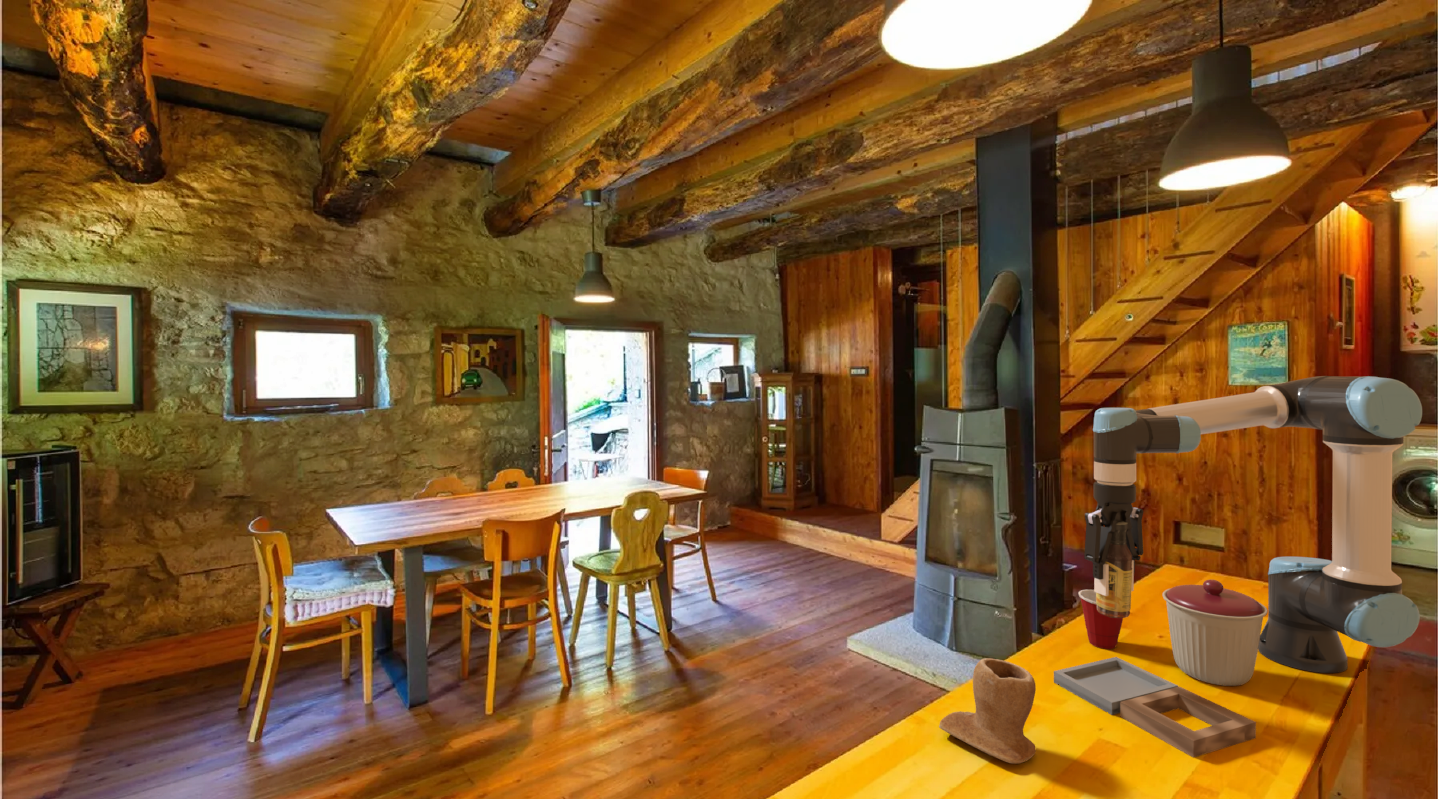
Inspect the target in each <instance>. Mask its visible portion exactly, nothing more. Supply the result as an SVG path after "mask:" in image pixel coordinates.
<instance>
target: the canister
mask: <svg viewBox="0 0 1438 799" xmlns="http://www.w3.org/2000/svg"><path fill="white" fill-rule="evenodd" d="M1162 597H1163V600H1164V601H1166V609H1167V610H1166V611H1167V619H1168V625H1169V627H1168V628H1169V634H1170V635H1169V636H1170V642H1171V648H1172V654H1173V660H1174V661H1175V664H1176V666H1178V668H1179V669H1180V670H1181V671H1182V672H1183V673H1184V674H1186V675H1188V676H1189V677H1192V678H1193V679H1196V680H1199V681H1202V682H1205V683H1208V684H1209V683H1210V684H1212V685H1217V686H1227V687H1230V686H1232V687H1235V686H1236V687H1237V686H1242V685H1244V684H1247V683H1248V682H1249V681H1250V680H1251V678H1252V677H1253V675H1254V672H1255V667H1256V662H1257V657H1258V652H1259V650H1258V646H1259V640H1260V635H1261V633H1262V626H1263V619H1264V617H1266V616H1267V614H1268V609H1267V607H1266V606H1265V605H1264V604H1262V603H1261V602H1259V601H1257V600H1256V599H1255V598H1253V597H1251V596H1249V595H1247V594H1244V593H1242V592H1238V591H1235V590H1232V589H1228V588H1224V585H1223V584H1222V583H1221V581H1219V580H1216V579H1207V580H1204V582H1203V583H1202V584H1181V585H1176V586H1173V587H1171V588H1167V589H1165V590H1164V591H1163V592H1162Z"/></svg>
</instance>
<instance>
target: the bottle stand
mask: <svg viewBox="0 0 1438 799" xmlns="http://www.w3.org/2000/svg"><path fill="white" fill-rule="evenodd" d="M1175 710H1181V711H1182V712H1184V713H1186V714H1188V715H1190V716H1192V717H1194V718H1196V719H1199V720H1200V721H1203V722H1205V723H1207V724H1209V725H1211V726H1207V727H1204V728H1200V729H1197V730H1193V729H1190V728H1189V727H1187V726H1185V725H1183V724H1181V723H1179V722H1178V721H1175V720H1174V719H1172V718H1170V717H1168V716H1166V715H1164V713H1166V712H1170V711H1175ZM1119 715H1120V716H1119V717H1120V718H1122V719H1124V720H1125V721H1128V722H1129V723H1131V724H1133V725H1134V726H1136V727H1138V728H1140V729H1142V730H1143V731H1145V732H1147V733H1149V734H1151V735H1152V736H1154V737H1156V738H1158V739H1159V740H1161V741H1163V742H1164V743H1167V744H1168V745H1170V746H1172V747H1174V748H1176V749H1177V750H1179V751H1180V752H1183V753H1184V754H1187V755H1188V756H1189V757H1192V758H1197V757H1199V756H1202V755H1206V754H1208V753H1212V752H1215V751H1219V750H1221V749H1226V748H1228V747H1231V746H1234V745H1235V746H1236V745H1238V744H1240V743H1241V744H1242V743H1245V742H1248V741H1250V740H1255V739H1256V737H1257V734H1256V733H1257V722H1256V721H1255V720H1253V719H1250V718H1248V717H1247V716H1244V715H1242V714H1239V713H1238V712H1235V711H1233V710H1231V709H1230V708H1228V707H1224V706H1222V705H1221V704H1218V703H1215V702H1214V701H1211V700H1209V699H1207V698H1205V697H1203V696H1201V695H1198V694H1197V693H1194V692H1193V691H1189V690H1187V689H1185V687H1184V688H1183V687H1181V686H1178V687H1175V688H1171V689H1167V690H1164V691H1160V692H1156V693H1152V694H1148V695H1144V696H1141V697H1137V698H1133V699H1129V700H1125V701H1121V702H1120V713H1119Z"/></svg>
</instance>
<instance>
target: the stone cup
mask: <svg viewBox="0 0 1438 799" xmlns="http://www.w3.org/2000/svg"><path fill="white" fill-rule="evenodd" d="M972 674H973V677H972V691H973V697H974V698H973V699H974V702H975V712H971V711H955V712H954V711H953V712H951V713H948V714H947V715H945V716H944V717H943V718H942V719H941V720H940V721H939V725H938V727H939V729H941V730H942V731H944V732H945V733H946V734H949V735H950V736H952V737H954V738H957V739H959V740H960V741H962V742H964V743H966V744H967V745H969V746H971V747H973V748H975V749H977V750H979V751H981V752H983V753H985V754H986V755H989V756H991V757H994V758H996V759H997V760H998V759H999V760H1001V761H1003V762H1006V763H1009V764H1021V763H1024V762H1025V763H1026V762H1027V761H1029V760H1030V759H1032V757H1034V755H1035V754H1036V744H1035V743H1034V742H1032V740H1030V739H1029V738H1028V737H1027V736H1025V734H1024V728H1025V725H1026V721H1027V720H1028V717H1029V715H1030V714H1031V710H1032V708H1033V706H1034V701H1035V696H1036V690H1037V688H1036V687H1037V686H1036V681H1035V679H1034V676H1033V675H1032V674H1031V673H1030V672H1029V671H1028V670H1027V669H1025V668H1023V667H1021V666H1020V665H1017V664H1015V663H1012V662H1010V661H1005V660H1002V659H997V658H996V659H995V658H989V657H988V658H986V657H985V658H982V659H980V660H979V661H978V662H976V665H975V667H974V670H973V673H972Z"/></svg>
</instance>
